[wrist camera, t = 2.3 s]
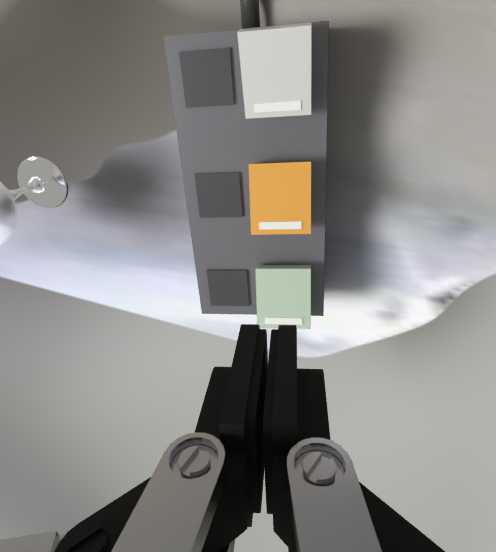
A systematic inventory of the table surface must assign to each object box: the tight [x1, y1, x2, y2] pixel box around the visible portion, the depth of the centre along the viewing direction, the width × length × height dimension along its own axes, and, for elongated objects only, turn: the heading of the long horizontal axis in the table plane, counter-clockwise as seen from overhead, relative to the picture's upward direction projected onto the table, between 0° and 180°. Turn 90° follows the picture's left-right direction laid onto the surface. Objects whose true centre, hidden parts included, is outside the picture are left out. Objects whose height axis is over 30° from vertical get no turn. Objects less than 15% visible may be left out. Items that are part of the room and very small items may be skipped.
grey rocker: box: [237, 22, 311, 119], centre depth 23 cm, size 4×5×1 cm
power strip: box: [164, 0, 329, 316], centre depth 29 cm, size 10×25×4 cm, turn 4°
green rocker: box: [255, 265, 311, 329], centre depth 30 cm, size 4×5×1 cm
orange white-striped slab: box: [249, 162, 311, 235], centre depth 26 cm, size 4×5×1 cm
